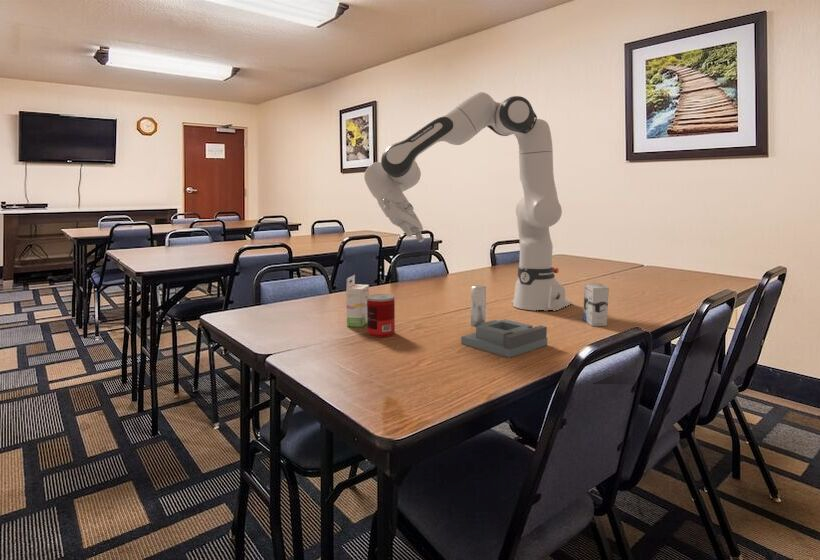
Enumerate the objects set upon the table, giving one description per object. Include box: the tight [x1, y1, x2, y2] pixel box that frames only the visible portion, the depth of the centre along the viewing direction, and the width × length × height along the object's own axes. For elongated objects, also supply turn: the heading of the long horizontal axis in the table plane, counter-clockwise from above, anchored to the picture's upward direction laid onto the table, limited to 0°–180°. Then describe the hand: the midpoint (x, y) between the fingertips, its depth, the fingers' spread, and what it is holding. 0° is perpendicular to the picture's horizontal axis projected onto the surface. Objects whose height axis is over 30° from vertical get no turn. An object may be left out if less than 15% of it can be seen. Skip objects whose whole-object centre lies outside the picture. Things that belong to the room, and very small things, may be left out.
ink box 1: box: [345, 274, 370, 328], centre depth 157 cm, size 9×5×15 cm, turn 168°
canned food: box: [367, 293, 396, 338], centre depth 146 cm, size 8×8×11 cm
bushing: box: [470, 284, 487, 328], centre depth 155 cm, size 4×4×12 cm
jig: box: [460, 318, 548, 358], centre depth 136 cm, size 16×16×5 cm
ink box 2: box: [582, 282, 610, 327], centre depth 157 cm, size 8×5×12 cm, turn 178°
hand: (416, 238), depth 164 cm, fingers open, 8 cm apart
